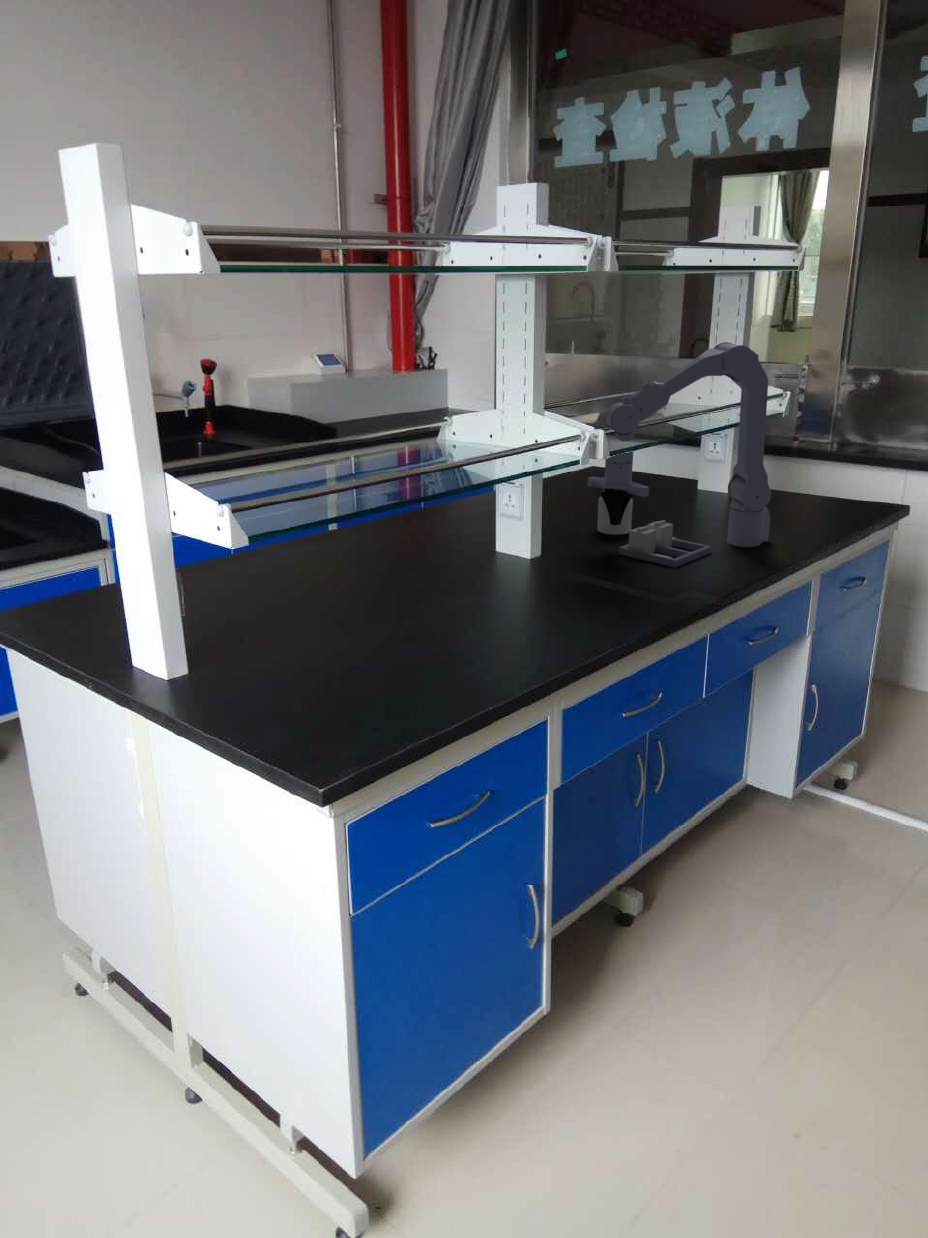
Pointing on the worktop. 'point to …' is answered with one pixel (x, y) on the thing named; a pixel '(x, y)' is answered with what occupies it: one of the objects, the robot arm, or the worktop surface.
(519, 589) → the worktop surface
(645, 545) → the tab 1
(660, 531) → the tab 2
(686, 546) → the dark blue tray
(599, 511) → the pill bottle
